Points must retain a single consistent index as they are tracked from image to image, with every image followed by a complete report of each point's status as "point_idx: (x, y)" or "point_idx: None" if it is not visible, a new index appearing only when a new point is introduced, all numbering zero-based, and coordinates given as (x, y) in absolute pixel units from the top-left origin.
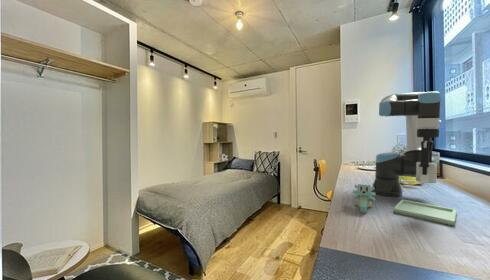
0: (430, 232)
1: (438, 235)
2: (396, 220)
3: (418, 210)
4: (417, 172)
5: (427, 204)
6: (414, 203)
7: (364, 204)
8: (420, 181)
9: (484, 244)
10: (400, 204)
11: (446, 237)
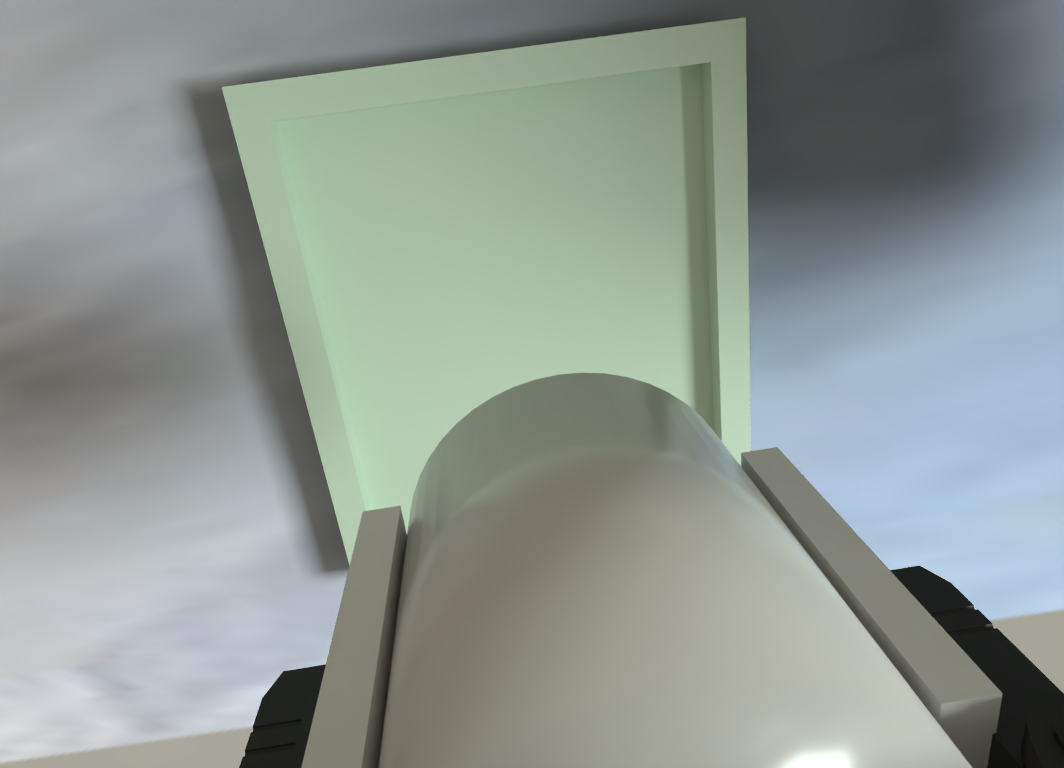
0: (27, 497)
1: (26, 547)
2: (9, 206)
3: (487, 288)
4: (453, 533)
5: (725, 317)
6: (709, 185)
7: None
8: (365, 512)
9: (169, 734)
10: (464, 92)
11: (46, 588)
